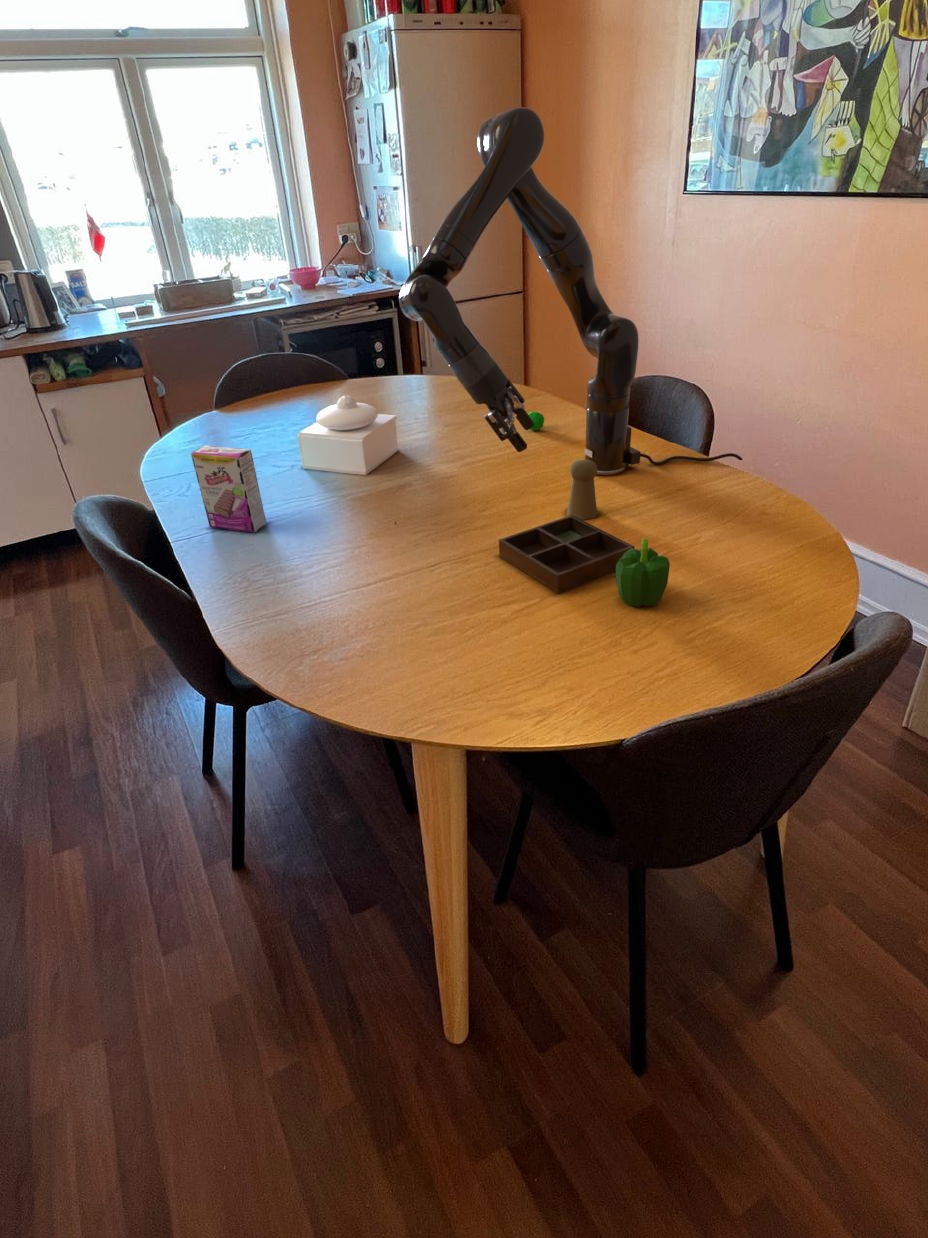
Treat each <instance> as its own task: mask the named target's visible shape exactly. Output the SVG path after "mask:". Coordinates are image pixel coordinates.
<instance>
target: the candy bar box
mask: <svg viewBox="0 0 928 1238" xmlns="http://www.w3.org/2000/svg"><path fill="white" fill-rule="evenodd" d="M190 456H191V460H192V464H193V467H194V471H195V476H196V479H197V483H198V487H199V490H200V494H201V495H200V496H201V499H202V502H203V506H204V510H205V514H206V518H207V522H208V526H209V528H210V529H220V530H225V531H226V530H227V531H235V532H242V533H243V532H245V533H252V534H255V533H257V532H259V530H261V529H262V528H263V527H264V526H266V525H267V520H266V515H265V514H266V513H265V509H264V506H263V505H264V504H263V501H262V496H261V491H260V487H259V482H258V478H257V473H256V472H257V471H256V468H255V463H254V458H253V453H252V450H251V449H248V448H239V447H238V448H237V447H228V446H227V447H226V446H216V445H203V446H201V447H199V448H197V449H196V450H193V451H192V452H191V453H190Z"/></svg>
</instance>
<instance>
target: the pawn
mask: <svg viewBox="0 0 928 1238" xmlns="http://www.w3.org/2000/svg"><path fill="white" fill-rule="evenodd" d="M569 471H570V476H571V478H572V480H571V488H570V493H569V499H568V504H567V505H568V506H567V511H566V515H567V516H570V515H573V516H575V517H577V518H579V519H581V520H583V521H584V520H585V521H586V520H591V519H594V518H595V517H597V515H598V509H597V498H596V497H597V496H596V487H595V477H596V476H597V466H596V464H595V463H594V462H593V461H590V460H585V459H578V460H575V461H574V462H572V464H571V465H570V469H569Z"/></svg>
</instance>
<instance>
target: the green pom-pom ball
mask: <svg viewBox="0 0 928 1238" xmlns="http://www.w3.org/2000/svg"><path fill="white" fill-rule="evenodd" d="M527 414H528V415H529V416H530V418H531V419H532V420H533V422H534V426H533V427H532V428H530V429H529V430H531V431H533V432H538V431H539V430H541V429H542V428H543V427H544V425H545V416H544V415H543V414H542V413H541V412H539V411H537V410H535V411H534V410H533V411H531V412H529V413H527Z"/></svg>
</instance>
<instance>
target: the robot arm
mask: <svg viewBox="0 0 928 1238" xmlns="http://www.w3.org/2000/svg"><path fill="white" fill-rule="evenodd" d="M544 144H545V127H544V125H543V121H542V119H541V117H540V116H539V115H538V113H537V112H535V110H533V109H531V108H529V107H525V106H517V107H514V108H510V109H507V110H504V111H502V112H500V113H497V114H494V115H492V116H490V117H488V118H486V119H485V120H484V121H483V122H482V124H481V126H480V127H479V130H478V133H477V149H478V154H479V156H480V159H481V161H482V163H483V165H484V167H483V169H482V171H481V172H480V174H479V175H478V176H477V178H476V179H475V181H474V182H473V183H472V185H471V186H470V187H469V188H468V189H467V190H466V191H465V192H464V194H462V196H461V197H460V198H459V200H457V202H456V203H455V204H454V205H453V207H452V208H451V209H450V210H449V212H448V213H447V214H446V216H445V217H444V219H443V220H442V222H441V224H440V225H439V227H438V229H437V231H436V232H435V234H434V236H433V237H432V240H431V242H430V243H429V246H428V248H427V250H426V252H425V253H424V255H423V256H422V258H421V259H420V260H419V261H418V262H417V264H416V265H415V266H414V268H413V269H412V270H411V273H409V275H408V276H407V278H406V280H405V281H404V283H403V285H402V286H401V288H400V292H399V296H398V304H399V308H400V310H401V313H403V315H404V316H405V317H406V318H408V319H409V320H411V321H415V322H421V321H423V322H424V323H425V325H426V327H427V329H428V330H429V331H430V333H431V334H432V343H433V344H432V345H433V346H434V347H435V349H436V351H437V353H438V354H439V355H440V356H441V357H442V358H443V360H444V361H445V363H446V364H447V365H448V367H449V368H450V370H451V371H452V373H453V376H455V378H456V379H457V380H458V382H459V383H460V385H461V386H462V387H463V388H464V390H465V391H466V392H467V393H468V395H469V397H470V398H471V399H472V400H473V401H474V402H475V404H476V405H486V407H487V409H488V411H489V412H487V413H486V414H485V415H484V419H485V421H486V422H487V424H488V425H489V426H490V428H491V429H492V431H493V432H494V433H495V434H496V436H497V437H498V439H499V440H500V441H501V442H504V441H505V440H508V442H510V444H511V445H512V446H513V447H514V449H515V450H516V452H518V453H521V452H523V451H525V450H527V449H528V443H527V442H526V441H525V439H524V438H523V437H522V436H521V434H520V433H519V431H518V430H517V428H516V426H515V421H516V420H517V421H518V422H519V424H520V426H521V427H522V428H523V429H524V430H525V431H529V430H531V429H530V428H532V427H533V426H534V422H533V420H532V419H531V418H530V416H529V415H528V414H529V413H528V412H527V411H526V410H525V409H526V406H525V402H526V401H525V398H524V397H523V396H522V393H520V392H519V391H518V389H517V388H516V386H515V385H514V384H513V383H512V381H511V380H510V378H508V377H507V376H506V374H505V372H504V371H503V370H502V368H501V367H500V366H499V364H498V363H497V361H496V360H495V359H494V358H493V356H492V355H491V353H490V352H489V351H488V349H487V348H486V347H485V346H484V345H483V344H482V343H481V341H479V340H478V337H476V336H475V334H474V333H473V331H472V329H471V328H470V327H469V325H467V323H466V321H464V318H463V317H462V314H461V312H460V309H459V307H458V305H457V304H456V301H455V299H454V297H453V295H452V294H451V292H450V291H449V289H448V288H447V287H448V285H449V284H450V283H451V281H452V280H453V279H455V278H456V277H457V276H459V274H460V273H461V272H462V271H463V269H464V267H465V265H466V264H467V262H468V261H469V259H470V257H471V255H472V254H473V252H474V250H475V248H476V246H477V245H478V244H479V241H480V239H481V238H482V236H483V234H484V233H485V231H486V230H487V228H488V227H489V225H490V223H491V221H492V220H493V218H494V217H495V215H496V214H497V213H498V211H499V210H500V208H501V207H502V205H503V204H504V203H505V201H506V200H507V201H508V203H509V204H510V206H511V207H512V209H513V212H514V213H515V214H516V217H517V218H518V220H519V222H520V224H521V226H522V227H523V229H524V232H526V234H527V236H528V238H529V240H530V241H531V243H532V246H533V247H534V250H535V252H536V254H537V256H538V258H539V260H540V262H541V263H542V265H543V267H544V268H545V270H546V272H547V274H548V276H549V277H550V278H551V280H552V282H553V284H554V286H555V288H556V289H557V290H556V291H558V294H559V295H560V296H561V298H562V299H563V301H564V303H565V305H566V306H567V308H568V310H569V312H570V315H571V317H572V319H573V322H574V324H575V327H576V329H577V332H578V334H579V337H580V340H581V342H582V344H583V347H584V348H585V350H586V351H587V353H589V354H590V355H591V356H592V357H594V358H596V359H597V365H596V375H595V376H593V377H590V378H589V380H588V382H587V388H586V393H587V394H586V417H585V440H584V441H585V443H584V444H585V445H584V450H583V451H584V452H583V453H584V460H590V461H593V462H594V463H595V464H596V466H597V474H596V476H597V475H598V476H614V475H618V474H622V473H623V472H625V470H628V469H630V466H634V465H638V464H641V458H645V459H647V460H648V461H649V463H650V464H651V465H654V466H661V465H664V464H666V463H668V462H670V461H675V460H687V461H695V462H711V461H716V460H720V459H723V458H728V457H730V458H731V457H733V458H736V459H738V460H739V461H743V458H742V456H740V455H739V454H737V453H733V452H730V453H723V454H719V455H715V456H711V457H695V456H689V455H688V456H686V455H674V456H670V457H668V458H665V459H664V460H662V461H654V460H653V458H652V457H651V456H650V455H649V454H646V453H642V452H641V451H639V450H638V449H636V448H635V447H632V446H631V443H632V440H631V439H632V427H631V426H629V416H630V401H631V399H630V398H631V387H632V386H633V383H634V381H635V378H636V372H637V363H638V357H639V344H640V343H639V342H640V341H639V340H640V338H639V331H638V327H637V326H636V324H635V322H634V321H633V320H631V319H630V318H627V317H624V316H622V315H619V314H615V313H614V312H613V311H612V310H611V308H610V307H609V305H608V304H607V302H606V300H605V299H604V296H603V295H602V293H601V291H600V289H599V287H598V284H597V280H596V269H595V261H594V255H593V252H592V249H591V246H590V244H589V242H588V240H587V237H586V236H585V234H584V231H583V229H582V228H581V226H580V224H579V222H578V220H577V218H576V217H575V216H574V215H573V214H572V213H571V211H570V210H569V209H568V208H567V207H566V206H565V205H564V204H563V203H562V202H561V201H560V200H559V199H557V198H556V196H554V195H553V194H552V193H551V192H550V191H549V190H548V189H547V188H546V187H545V186H544V184H543V183H542V181H541V180H540V179H539V177H538V175H537V174H536V172H535V170H534V167H533V165H534V164H535V163H536V161H537V160H538V158H539V157H540V155H541V153H542V151H543V148H544ZM515 418H516V419H515Z"/></svg>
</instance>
